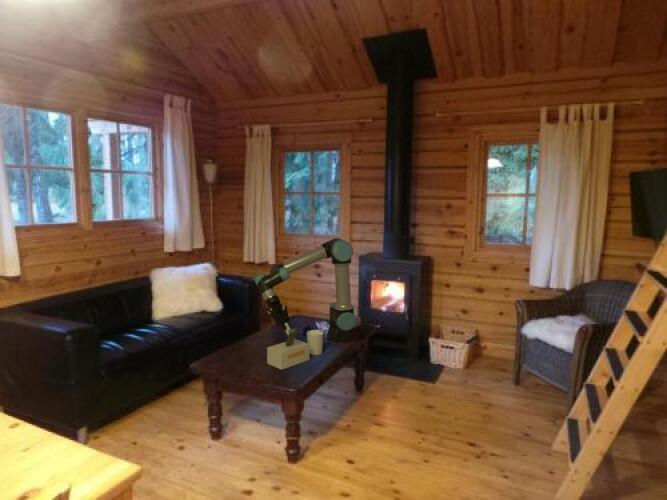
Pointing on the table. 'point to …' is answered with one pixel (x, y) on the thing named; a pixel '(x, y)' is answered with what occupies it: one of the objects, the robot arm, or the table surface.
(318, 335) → the candle holder
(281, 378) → the table surface
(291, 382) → the table surface
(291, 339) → the lever
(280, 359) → the beige rectangular box
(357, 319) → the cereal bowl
